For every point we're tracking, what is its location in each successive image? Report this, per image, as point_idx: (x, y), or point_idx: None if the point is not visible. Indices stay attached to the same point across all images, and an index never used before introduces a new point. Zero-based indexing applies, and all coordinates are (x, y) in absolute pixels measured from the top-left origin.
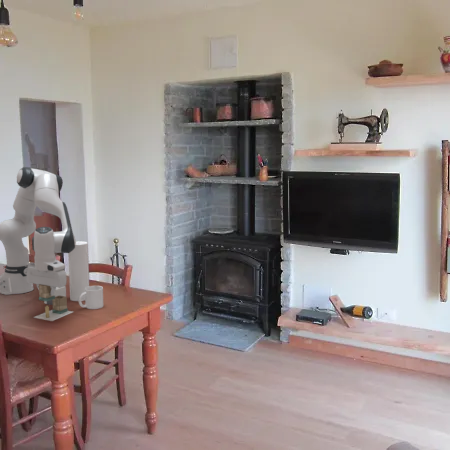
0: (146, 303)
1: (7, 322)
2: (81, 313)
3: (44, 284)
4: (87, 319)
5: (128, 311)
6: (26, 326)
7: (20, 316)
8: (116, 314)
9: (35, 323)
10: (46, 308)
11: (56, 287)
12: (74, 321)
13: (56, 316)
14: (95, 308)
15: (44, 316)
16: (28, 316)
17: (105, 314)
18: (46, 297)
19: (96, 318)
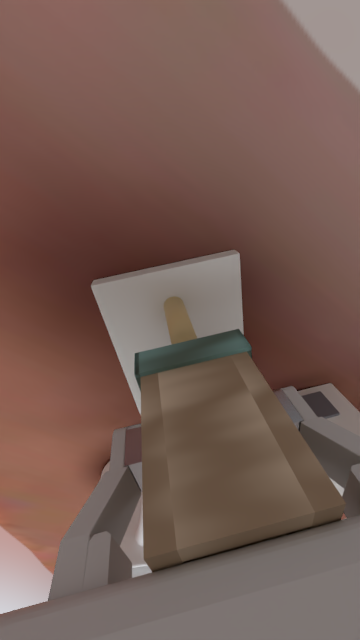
0: (56, 558)
1: (343, 108)
2: (125, 425)
3: (226, 577)
4: (29, 410)
5: (16, 517)
6: (171, 139)
7: (338, 239)
8: (11, 489)
9: (173, 219)
10: (175, 326)
11: (339, 492)
12: (43, 365)
13: (144, 339)
14: (103, 474)
15: (196, 301)
16: (299, 266)
17: (41, 469)
18: (149, 380)
19: (15, 435)
